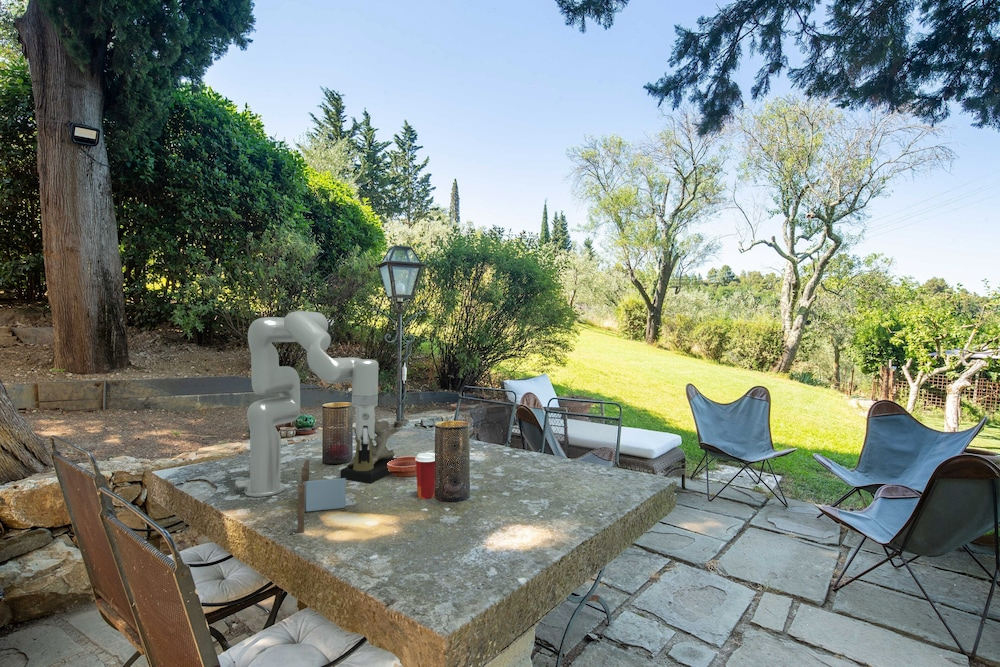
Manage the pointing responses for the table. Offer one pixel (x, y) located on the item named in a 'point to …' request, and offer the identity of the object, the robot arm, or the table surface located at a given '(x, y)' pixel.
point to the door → (324, 494)
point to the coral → (376, 454)
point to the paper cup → (425, 475)
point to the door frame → (302, 496)
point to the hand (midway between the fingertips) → (363, 460)
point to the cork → (364, 464)
